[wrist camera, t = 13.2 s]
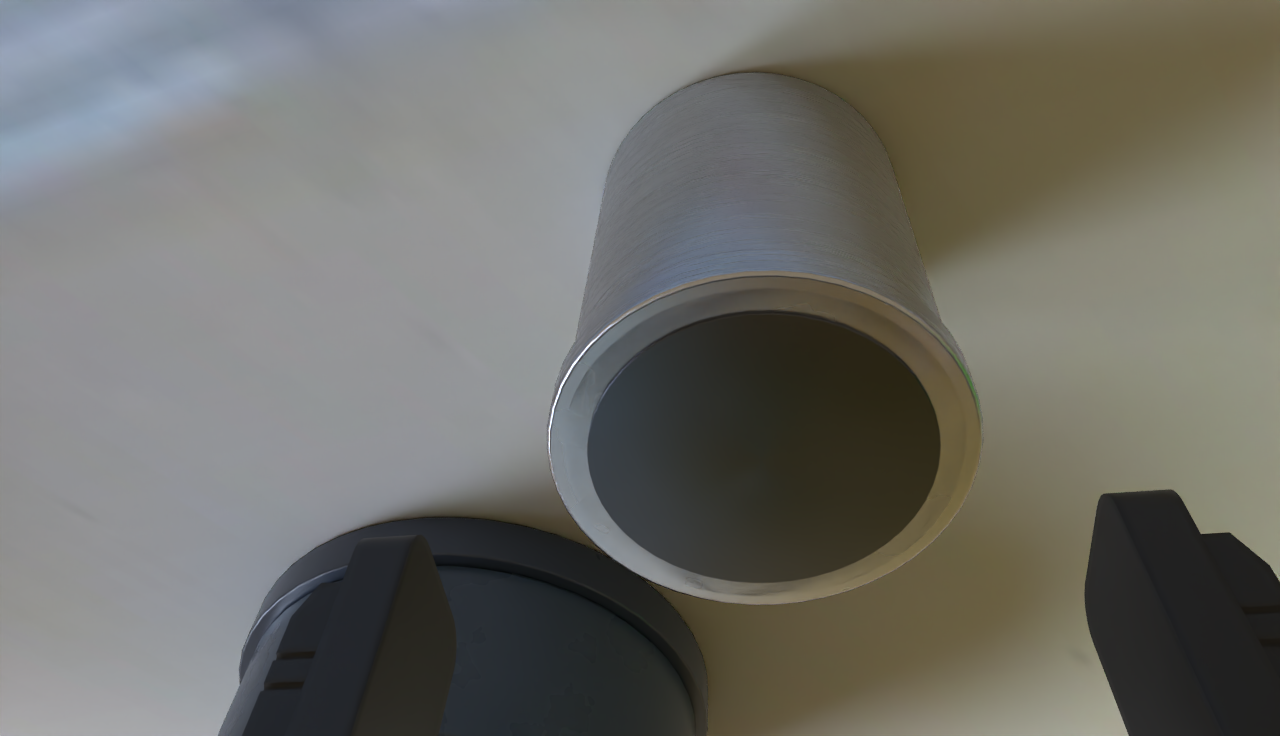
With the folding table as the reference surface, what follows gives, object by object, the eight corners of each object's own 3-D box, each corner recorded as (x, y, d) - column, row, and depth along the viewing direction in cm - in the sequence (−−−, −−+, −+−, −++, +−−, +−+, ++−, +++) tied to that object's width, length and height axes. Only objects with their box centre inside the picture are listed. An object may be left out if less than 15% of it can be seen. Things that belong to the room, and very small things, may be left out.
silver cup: (618, 350, 22) (584, 618, 16) (570, 81, 18) (504, 295, 13) (903, 328, 21) (975, 599, 15) (905, 43, 18) (998, 252, 12)
